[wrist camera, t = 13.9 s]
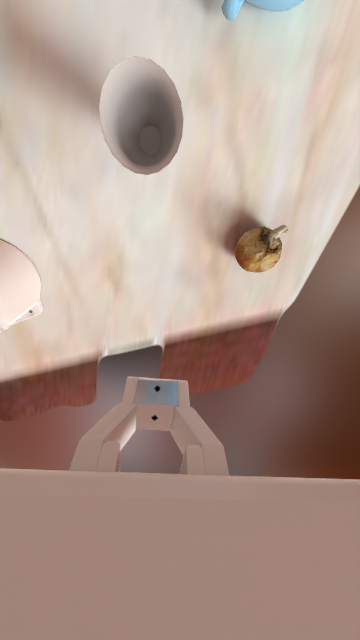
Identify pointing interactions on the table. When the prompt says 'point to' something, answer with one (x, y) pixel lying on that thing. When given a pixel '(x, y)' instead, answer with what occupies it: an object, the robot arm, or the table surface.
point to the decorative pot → (233, 3)
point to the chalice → (141, 115)
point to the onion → (259, 248)
